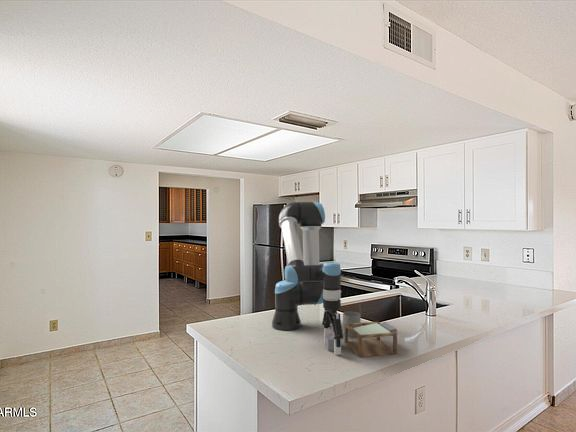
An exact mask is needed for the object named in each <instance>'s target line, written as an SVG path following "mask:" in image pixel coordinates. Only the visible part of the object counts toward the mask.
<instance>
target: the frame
mask: <svg viewBox="0 0 576 432" xmlns="http://www.w3.org/2000/svg"><path fill="white" fill-rule="evenodd" d="M374 323H378V324H379V323H381V322H380V321H368V322H366V321H365V322H361V323H351V324H345V336H344V344H345V345H346V346H347V347H348V348H349V349H350V350H352V351H353V353H354V354H355V355H356V356H358V357H359V358H366V357H367V358H368V357H375V356H376V357H377V356H387V355H388V356H389V355H397V354H398V332H392V333H379V334H366V335H360V334H359V333H358V332H357V331H355V330H354V329H353V328H352V326H365V325H369V324H374ZM348 329H349V330H350V331H351V332H352V333H353V334H354V335H356V336H357V337H356V338H357V340H349V337H348ZM373 337H377V338H373ZM382 337H383V338H384V337H392V347H391V346H389V345H388V344H387V343H385V342H384V341H382V339H381V338H382ZM362 338H372V339H368V340H363V341H362Z"/></svg>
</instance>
